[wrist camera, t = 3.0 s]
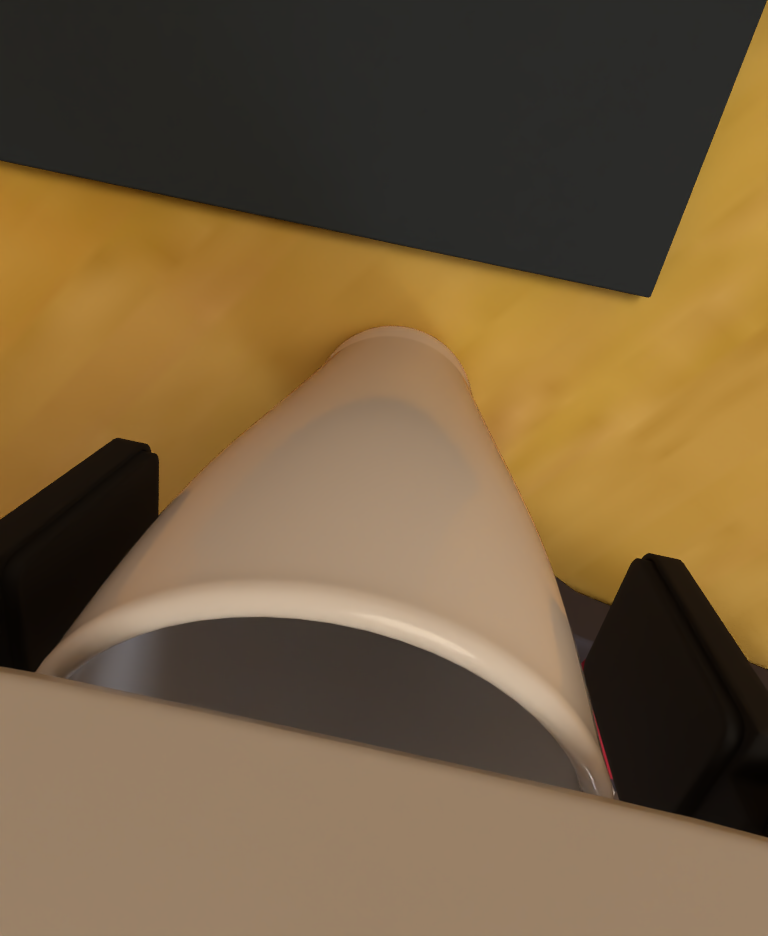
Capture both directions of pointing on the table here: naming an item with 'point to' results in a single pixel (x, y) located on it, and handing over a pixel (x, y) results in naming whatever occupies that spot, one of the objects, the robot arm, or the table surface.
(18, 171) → the table surface
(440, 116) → the desk pad
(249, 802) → the robot arm
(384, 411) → the white cup
